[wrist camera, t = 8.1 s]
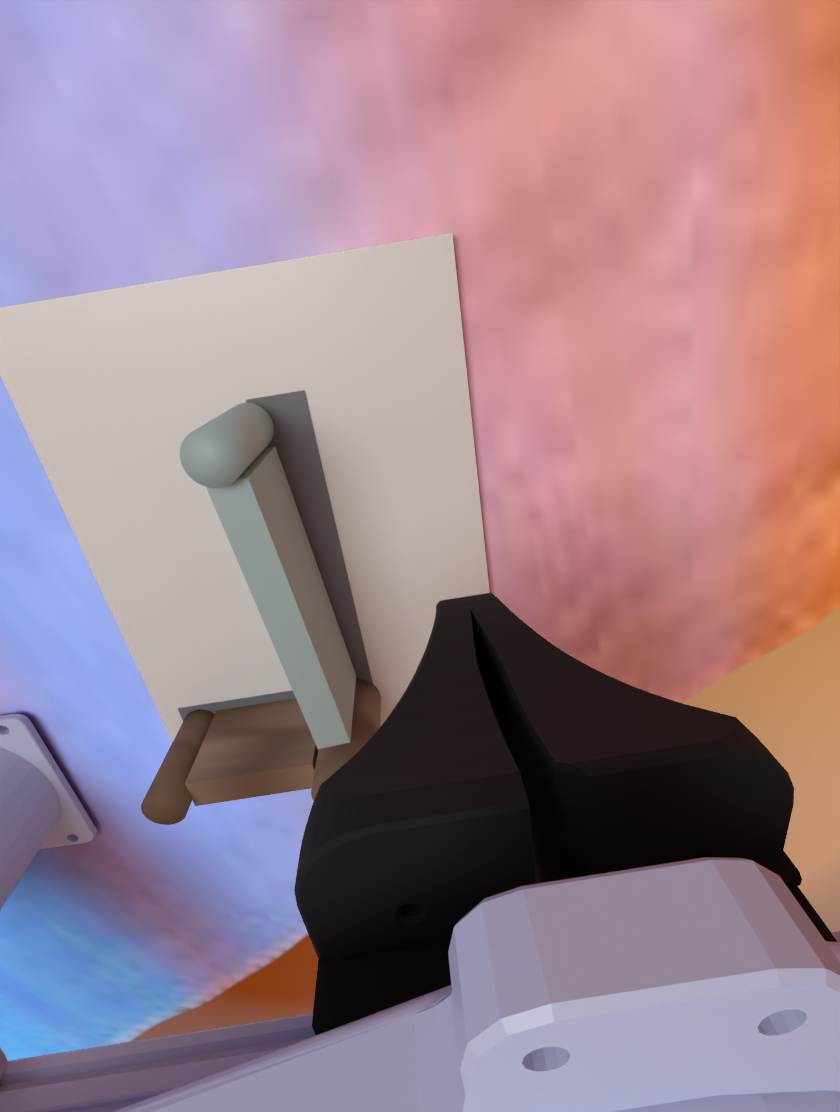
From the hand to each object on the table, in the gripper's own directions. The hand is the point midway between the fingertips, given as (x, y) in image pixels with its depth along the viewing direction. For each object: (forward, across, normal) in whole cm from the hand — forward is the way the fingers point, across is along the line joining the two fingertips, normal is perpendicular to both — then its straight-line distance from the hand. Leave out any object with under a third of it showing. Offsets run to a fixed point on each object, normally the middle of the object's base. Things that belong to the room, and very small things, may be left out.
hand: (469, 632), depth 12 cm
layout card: (+8, +6, +1) cm, 10 cm away
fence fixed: (+8, +8, +8) cm, 14 cm away
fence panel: (+7, +5, +1) cm, 9 cm away
